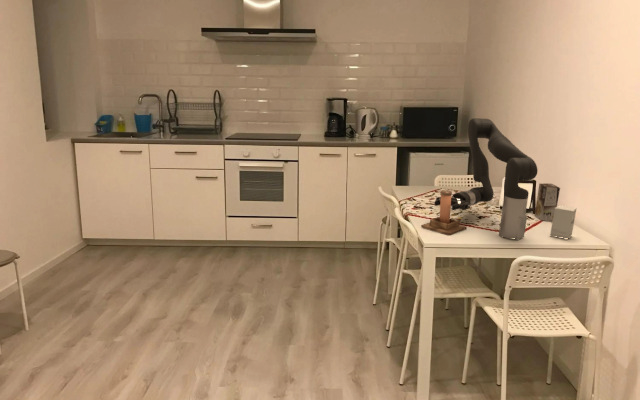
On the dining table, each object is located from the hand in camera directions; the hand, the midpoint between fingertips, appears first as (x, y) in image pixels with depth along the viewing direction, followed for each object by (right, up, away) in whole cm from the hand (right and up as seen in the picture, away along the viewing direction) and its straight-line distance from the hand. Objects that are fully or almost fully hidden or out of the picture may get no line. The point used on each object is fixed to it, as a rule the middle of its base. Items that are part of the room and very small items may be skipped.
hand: (443, 205), depth 221 cm
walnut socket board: (+1, -10, +4) cm, 11 cm away
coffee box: (+54, -7, +26) cm, 60 cm away
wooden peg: (+1, -9, +4) cm, 10 cm away
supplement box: (+50, -13, 0) cm, 51 cm away
